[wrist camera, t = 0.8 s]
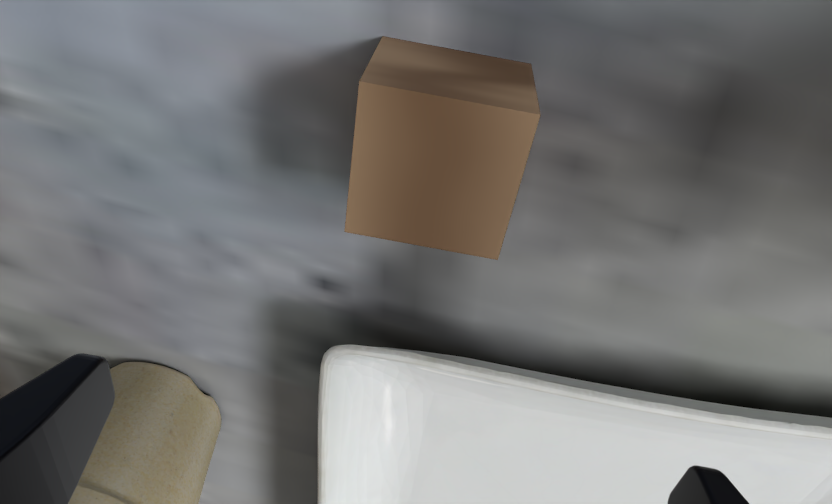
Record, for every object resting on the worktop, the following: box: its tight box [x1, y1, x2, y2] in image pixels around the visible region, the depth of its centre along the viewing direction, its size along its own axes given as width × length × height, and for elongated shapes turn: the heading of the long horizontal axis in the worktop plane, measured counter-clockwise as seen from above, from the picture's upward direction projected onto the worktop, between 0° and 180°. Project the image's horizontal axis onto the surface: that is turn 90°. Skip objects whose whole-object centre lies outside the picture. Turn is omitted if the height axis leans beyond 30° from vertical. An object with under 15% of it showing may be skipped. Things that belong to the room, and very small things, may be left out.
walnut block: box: [345, 36, 540, 260], centre depth 17 cm, size 4×4×4 cm
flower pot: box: [68, 362, 221, 504], centre depth 25 cm, size 9×9×9 cm
